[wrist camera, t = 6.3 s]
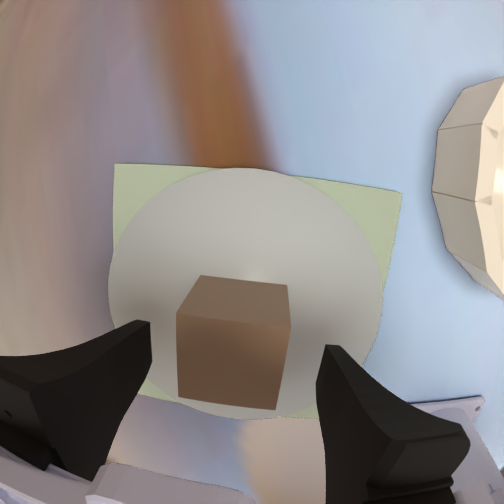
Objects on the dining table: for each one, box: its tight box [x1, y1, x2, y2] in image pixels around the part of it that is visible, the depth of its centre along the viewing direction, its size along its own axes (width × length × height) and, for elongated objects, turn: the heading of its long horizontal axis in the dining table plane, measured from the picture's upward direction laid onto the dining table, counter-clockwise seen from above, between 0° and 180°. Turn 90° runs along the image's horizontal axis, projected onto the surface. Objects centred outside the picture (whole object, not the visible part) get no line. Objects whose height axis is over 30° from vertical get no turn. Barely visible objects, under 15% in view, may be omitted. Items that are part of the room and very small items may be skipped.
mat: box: [113, 164, 403, 419], centre depth 16 cm, size 14×14×1 cm
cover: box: [108, 168, 383, 420], centre depth 13 cm, size 14×14×5 cm
